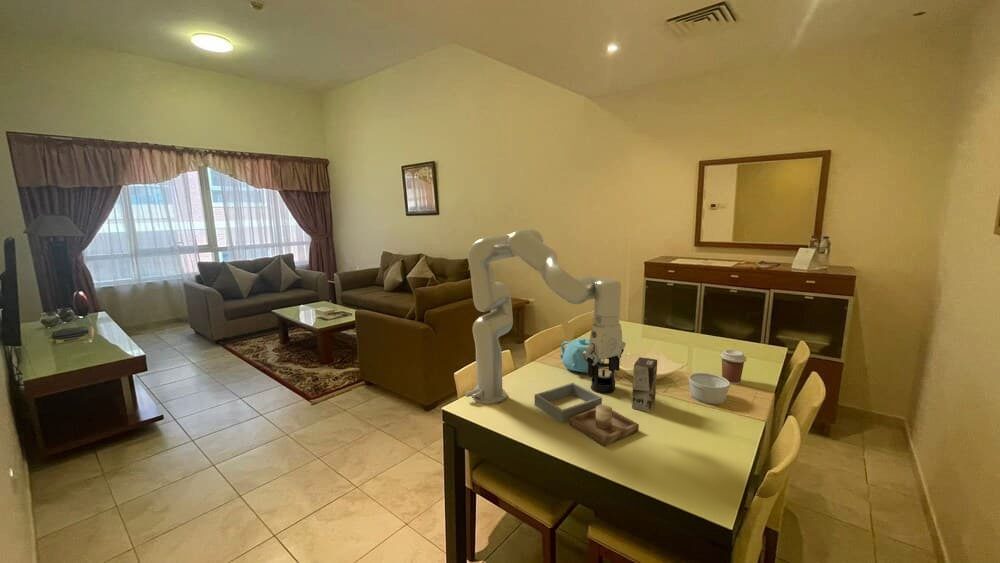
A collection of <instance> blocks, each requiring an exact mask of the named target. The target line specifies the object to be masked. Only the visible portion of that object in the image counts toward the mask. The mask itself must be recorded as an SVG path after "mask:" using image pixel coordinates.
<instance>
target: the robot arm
mask: <svg viewBox="0 0 1000 563" xmlns="http://www.w3.org/2000/svg"><path fill="white" fill-rule="evenodd" d="M515 257H517V258H519V259H520V260H522V261H523V262H524V263H525V264H527V265H528V266H530V268H533V270H535V271H537V273H539V274H540V277H541V278H542V280H543V281H544V283H545V284H546V285H547V287H548V288H549V289H550V290H551V291H552V292H554V293H555V294H556V295H557V296H559V297H560V298H561V299H563V300H564V301H566V302H568V304H572V305H581V304H583V303H586V301H590V300H593V299H594V301H593V303H594V304H593V308H594V309H593V318H592V323H593V324H592V325H591V329H590V334H589V340H590V342H589V347H588V348H587V349H586V350H584V351H583V356H584V359H585V360H586V361H587V363H588V374H587V375H588V377H589V376H591V377H593V378H596V377H597V365H596V363H597V361H598V360H599V359H601V360H603V359H604V360H607V359H606V358H610V357H611V361H610V368H611V369H614V370H615V371H616V372H619V371H620V361H621V358H622V354H624V351H625V350H624V349H625V348H626V347H625V346H626V344H627V343H626V342H625V341H623V331H622V330H623V329H622V326H621V323H620V312H621V300H622V298H621V296H622V283H621V282H620V280H617V279H615V278H601V277H598V276H594V275H593V276H592V275H589V274H587V275H586V274H585V275H581V276H579V277H574V276H573V275H571V274H569V273H568V272H567V271H566V270H565V269H563V268H562V267H561V265H560V264H559V262H558V253H557V252H556V251H555V250H554V249H552V248H551V247H549V246H548V245H546V244H545V243H544V238H543V236H542V234H541V232H539V231H538V230H536V229H533V228H525V229H518V230H515V231H514V232H511V233H507V234H501V235H500V234H499V235H491V236H485V237H482V238H479V239H478V240H476V241H475V242H473V243H472V245H471V246H470V248H469V249H468V253H467V259H468V260H467V261H468V267H469V271H470V279H471V280H470V281H471V292H472V299H473V304H474V307H475V309H476V310H477V311H479V312H483V313H485V312H488V313H485V314H483V315H481V316H479V317H478V318H477V319H475V321H474V322H473V324H472V335H473V340H474V346H475V365H476V366H475V368H476V370H475V371H476V385H474V387H473V389H472V390H468V391H465V392H464V396H465V397H466V398H469V397H471V399H473V400H474V401H475V402H477V403H479V404H483V405H495V404H499V403H502V402H503V401H505V400H506V399H507V396H508V395H507V393H508V392H507V391H506V390H505V389H503V358H502V357H503V354H502V346H501V344H500V341H499V338H500V337H502V336H504V335H506V334H507V333H509V332H510V331H511V330H512V328H513V325H514V317H513V305H512V297H511V291H510V289H509V287H508V286H507V285H506V284H505V283H503V281H502V282H501V281H496V275H495V270H494V268H493V266H492V264H491V262H493V261H499V260H503V259H505V260H506V259H509V258H515ZM489 311H490V312H489ZM589 354H590V356H589ZM593 357H595V359H594V360H592V359H593ZM591 377H590V378H591Z"/></svg>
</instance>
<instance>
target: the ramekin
mask: <svg viewBox="0 0 1000 563" xmlns="http://www.w3.org/2000/svg"><path fill="white" fill-rule="evenodd" d="M688 381H689V393H690V395H691V397H692V398H693V399H695V400H696V401H699V402H700V403H704V404H711V405H719V404H723V403H724V402H725V401H726V399H727V397H728V391H729V389H730V388H731V387H730V386H731V384H730V383H729V381H728V380H726V379H725V378H723V377H722V375H721V376H720V375H717V374H715V373H708V372H695V373H691V374H690V375H689V376H688Z"/></svg>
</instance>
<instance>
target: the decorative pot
mask: <svg viewBox="0 0 1000 563" xmlns="http://www.w3.org/2000/svg"><path fill="white" fill-rule="evenodd" d="M589 342H590V339H588V338H587V339H586V338H583V337H579V338H577V339H572V340H571V341H568V340H567V341H566V340H565V341H562V343H561V345H560V350H561V354H560V356H559V357H560V359H561V360H562V364H563V365H564V367H565V368H566V369H568V370H569V371H570V372H580V373H582V374H584V373H588V363H587V361H586V360H585V359H584V356H583V351H584V350H586V349H587V348H588V347H589ZM565 344H566V348H565ZM589 356H590V354H589ZM597 362H599V363H603V360H602V359H599V360H598V361H597ZM599 368H602V367H601V366H599Z"/></svg>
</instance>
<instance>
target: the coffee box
mask: <svg viewBox="0 0 1000 563" xmlns="http://www.w3.org/2000/svg"><path fill="white" fill-rule="evenodd" d="M632 372H633V376H632V396H631V397H632V398H631V409H635V410H639V411H643V412H646V413H650V412H651V411H652V410H653V407H654V405H655V403H656V394H657V375H658V374H657V373H658V359H654V358H648V357H641V356H639V357H638V358H637V360H636V361H635V362H634V364H633V371H632Z"/></svg>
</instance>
